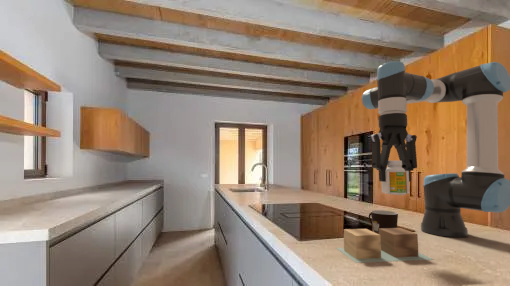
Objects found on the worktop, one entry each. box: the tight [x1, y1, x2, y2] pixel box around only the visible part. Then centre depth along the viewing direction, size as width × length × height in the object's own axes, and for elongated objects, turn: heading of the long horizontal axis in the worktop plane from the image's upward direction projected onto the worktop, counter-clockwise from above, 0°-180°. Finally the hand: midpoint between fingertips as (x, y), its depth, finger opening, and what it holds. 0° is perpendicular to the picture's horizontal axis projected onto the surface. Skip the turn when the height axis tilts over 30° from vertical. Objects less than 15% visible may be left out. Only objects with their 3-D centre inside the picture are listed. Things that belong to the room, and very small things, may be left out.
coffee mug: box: [368, 209, 399, 234], centre depth 92 cm, size 12×9×10 cm
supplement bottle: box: [385, 160, 407, 196], centre depth 76 cm, size 5×5×10 cm
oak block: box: [343, 228, 381, 259], centre depth 72 cm, size 7×7×6 cm
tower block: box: [379, 227, 419, 257], centre depth 74 cm, size 7×7×6 cm
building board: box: [335, 247, 435, 264], centre depth 73 cm, size 22×12×2 cm, turn 97°
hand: (395, 192), depth 75 cm, fingers closed on supplement bottle, 5 cm apart
